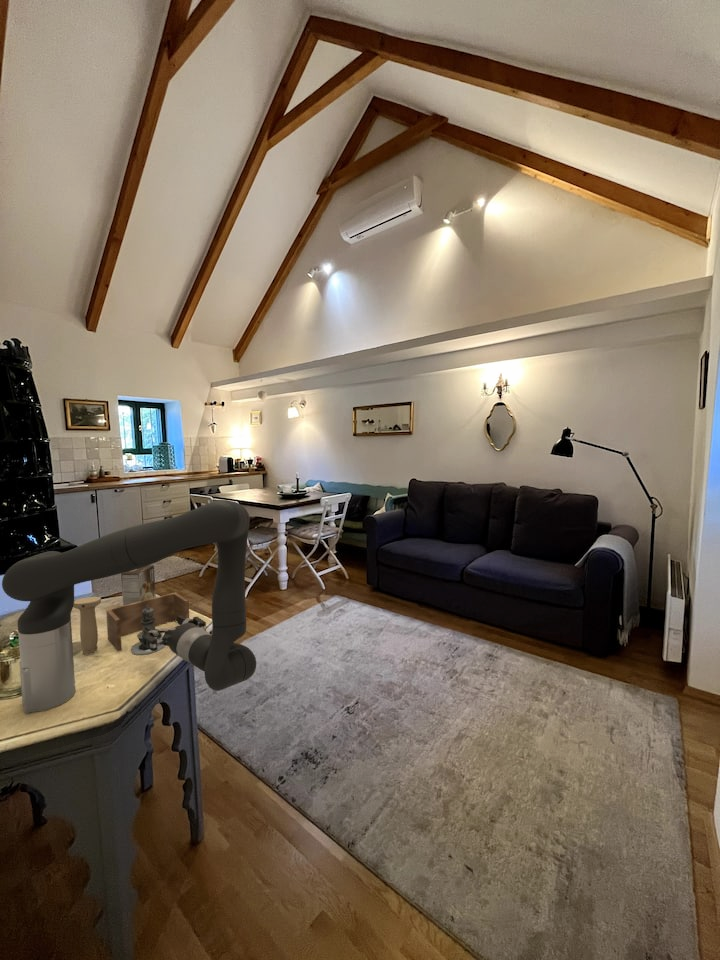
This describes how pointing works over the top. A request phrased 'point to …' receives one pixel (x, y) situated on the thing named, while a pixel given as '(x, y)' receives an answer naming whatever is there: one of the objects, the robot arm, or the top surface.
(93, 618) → the turned wooden grip
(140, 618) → the walnut cubby
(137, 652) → the coaster
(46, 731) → the top surface
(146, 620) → the grey metal upright piece
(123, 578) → the coffee box
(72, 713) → the top surface
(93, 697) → the top surface
